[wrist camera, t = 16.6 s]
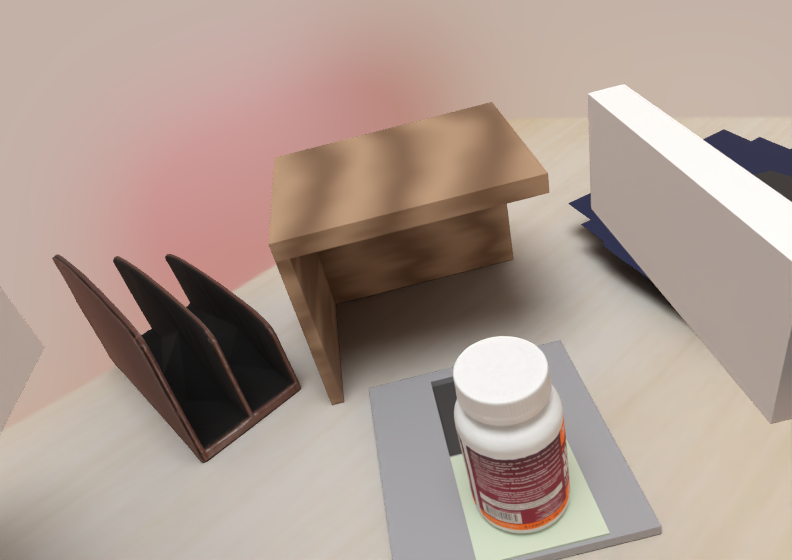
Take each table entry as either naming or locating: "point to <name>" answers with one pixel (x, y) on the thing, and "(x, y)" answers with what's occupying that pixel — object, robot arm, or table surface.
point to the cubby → (394, 214)
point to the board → (450, 490)
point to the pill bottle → (511, 434)
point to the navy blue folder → (742, 151)
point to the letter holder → (191, 353)
